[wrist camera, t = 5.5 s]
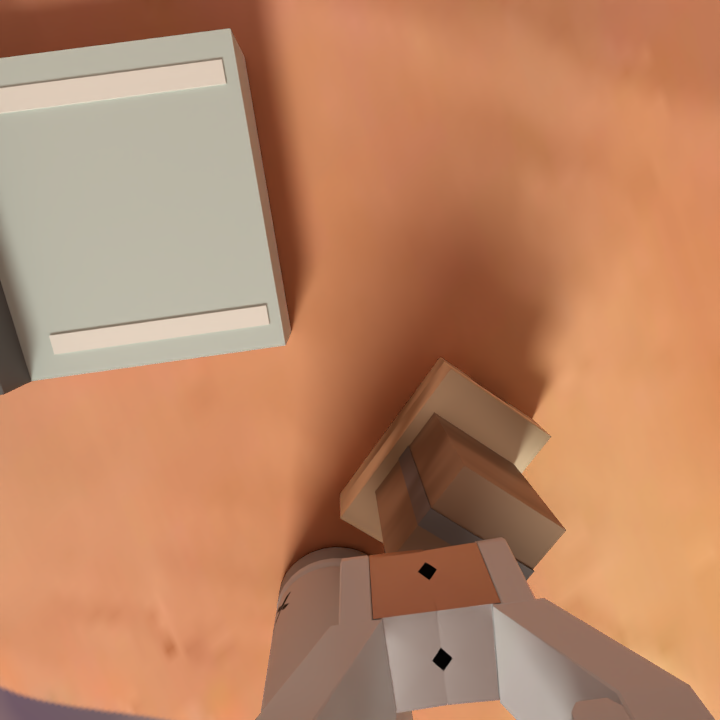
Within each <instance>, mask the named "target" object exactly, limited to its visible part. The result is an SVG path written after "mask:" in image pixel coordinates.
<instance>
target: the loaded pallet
mask: <svg viewBox="0 0 720 720" xmlns="http://www.w3.org/2000/svg"><path fill="white" fill-rule="evenodd" d="M550 438H551V436H550V435H549V434H548V433H547V432H546V431H545V430H544V429H542V428H541V427H540V426H539V425H538V424H537V423H536V422H535V421H534V420H533V419H531V418H530V417H528V416H527V415H526V414H524V413H523V412H521V411H520V410H518V409H517V408H515V407H514V406H512V405H511V404H509V403H508V402H506V401H505V402H504V401H502V400H501V399H499V398H498V397H496V396H495V395H493V394H492V393H490V392H489V391H487V390H486V389H485V388H483V387H482V386H480V385H479V384H477V383H476V382H474V381H473V380H472V379H471V378H470V377H469V376H468V375H467V374H465V373H464V372H462V371H461V370H459V369H458V368H456V367H455V366H453V365H452V364H450V363H449V362H447V361H446V360H445V359H443V358H442V357H440V358H439V359H438V361H437V362H436V363H435V365H434V366H433V367H432V369H431V370H430V372H429V373H428V374H427V376H426V377H425V378H424V380H423V381H422V382H421V384H420V385H419V387H418V388H417V389H416V391H415V392H414V393H413V395H412V396H411V397H410V399H409V400H408V402H407V403H406V404H405V406H404V407H403V408H402V410H401V411H400V412H399V414H398V415H397V417H396V418H395V419H394V421H393V422H392V423H391V425H390V426H389V427H388V429H387V430H386V432H385V433H384V434H383V436H382V437H381V438H380V440H379V441H378V443H377V444H376V445H375V447H374V448H373V449H372V451H371V452H370V453H369V455H368V456H367V458H366V459H365V460H364V462H363V463H362V464H361V466H360V467H359V468H358V470H357V471H356V473H355V474H354V475H353V477H352V478H351V479H350V481H349V482H348V483H347V485H346V486H345V488H344V489H343V490H342V492H341V493H340V518H341V519H342V520H344V521H346V522H347V523H349V524H351V525H353V526H354V527H356V528H358V529H359V530H361V531H363V532H365V533H366V534H368V535H370V536H372V537H373V538H375V539H377V540H378V541H380V542H382V543H383V544H384V550H385V553H392V552H402V551H411V550H420V549H422V550H425V549H432V548H439V547H446V546H453V545H460V544H467V543H475V541H481V540H487V539H493V538H499V537H502V538H504V539H505V540H506V542H507V544H508V546H509V548H510V550H511V552H512V554H513V556H514V557H515V559H516V561H517V563H518V565H519V567H520V569H521V571H522V573H523V575H524V577H525V579H526V580H527V579H528V578H529V577H530V576H531V574H532V573H533V572H534V570H533V569H534V567H535V566H536V565H537V564H538V563H539V561H540V560H541V559H542V558H543V557H544V556H545V554H546V553H547V552H548V551H549V550H550V549H551V547H552V546H553V545H554V544H555V543H556V542H557V540H558V539H559V538H560V537H561V536H562V534H563V533H564V532H565V531H566V530H565V528H564V527H563V526H562V524H561V523H560V522H559V521H558V519H557V518H556V517H555V516H554V514H553V513H552V512H551V511H550V509H549V508H548V507H547V505H546V504H545V503H544V502H543V500H542V499H541V498H540V497H539V495H538V494H537V493H536V491H535V490H534V489H533V488H532V486H531V485H530V484H529V483H528V481H527V480H526V479H525V478H524V476H523V475H522V474H521V473H522V472H523V471H524V470H525V468H526V467H527V466H528V465H529V463H530V462H531V461H532V460H533V459H534V457H535V456H536V455H537V454H538V452H539V451H540V450H541V449H542V447H543V446H544V445H545V444H546V442H547V441H548V440H549V439H550Z"/></svg>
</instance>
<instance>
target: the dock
mask: <svg viewBox="0 0 720 720" xmlns="http://www.w3.org/2000/svg"><path fill="white" fill-rule="evenodd" d="M290 334H291V327H290V321H289V315H288V309H287V303H286V297H285V291H284V285H283V280H282V274H281V268H280V262H279V256H278V250H277V244H276V238H275V233H274V227H273V221H272V215H271V209H270V203H269V197H268V191H267V186H266V180H265V174H264V168H263V162H262V156H261V150H260V144H259V138H258V133H257V127H256V121H255V115H254V109H253V103H252V97H251V91H250V86H249V80H248V74H247V68H246V62H245V57H244V55H243V53H242V51H241V49H240V47H239V45H238V43H237V41H236V39H235V37H234V35H233V33H232V31H231V29H230V28H229V29H221V30H213V31H205V32H198V33H190V34H182V35H175V36H167V37H159V38H151V39H144V40H136V41H128V42H121V43H113V44H105V45H97V46H90V47H82V48H74V49H67V50H59V51H51V52H43V53H36V54H28V55H20V56H13V57H5V58H0V395H2V394H5V393H8V392H10V391H12V390H14V389H16V388H18V387H20V386H22V385H24V384H26V383H29V382H31V381H36V380H43V379H50V378H57V377H64V376H71V375H78V374H85V373H93V372H100V371H107V370H114V369H121V368H128V367H135V366H142V365H149V364H156V363H164V362H171V361H178V360H185V359H192V358H199V357H206V356H213V355H220V354H228V353H235V352H242V351H249V350H256V349H263V348H270V347H277V346H284V345H286V343H287V341H288V339H289V337H290Z"/></svg>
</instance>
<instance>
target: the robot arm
mask: <svg viewBox="0 0 720 720" xmlns="http://www.w3.org/2000/svg"><path fill="white" fill-rule="evenodd" d="M494 700H500V703H501V704H502V705H503V706H504V707H505V708H506V709H507V710H508V711H509V712H510V713H511V714H512V715H513V716H514V717H515V719H516V720H715V719H714V718H713V716H712V715H711V714H710V712H709V711H708V710H707V708H706V707H705V706H704V704H703V703H702V701H701V700H700V699H699V697H698V696H697V695H696V693H695V692H694V691H693V689H692V688H691V687H690V685H688V684H686V683H685V682H683V681H681V680H680V679H678V678H676V677H675V676H673V675H671V674H670V673H668V672H666V671H665V670H663V669H661V668H660V667H658V666H657V665H655V664H653V663H652V662H650V661H648V660H647V659H645V658H643V657H642V656H640V655H638V654H637V653H635V652H633V651H632V650H630V649H628V648H627V647H625V646H623V645H622V644H620V643H618V642H617V641H615V640H613V639H612V638H610V637H608V636H607V635H605V634H603V633H602V632H600V631H598V630H597V629H595V628H593V627H592V626H590V625H588V624H587V623H585V622H583V621H582V620H580V619H578V618H577V617H575V616H573V615H572V614H570V613H568V612H567V611H565V610H563V609H562V608H560V607H558V606H557V605H555V604H553V603H552V602H550V601H548V600H547V599H545V598H541V599H536V598H535V596H534V595H533V593H532V591H531V589H530V587H529V585H528V583H527V581H526V579H525V577H524V575H523V573H522V571H521V569H520V567H519V565H518V563H517V561H516V559H515V557H514V556H513V554H512V552H511V550H510V548H509V546H508V544H507V542H506V540H505V539H504V538H502V537H499V538H493V539H487V540H481V541H475V543H467V544H460V545H453V546H446V547H439V548H432V549H425V550H422V549H420V550H411V551H402V552H392V553H383V554H374V555H369V556H367V555H366V556H358V557H350V558H342V560H341V563H340V589H339V625H333V626H330V627H329V628H328V629H327V631H326V632H325V633H324V634H323V636H322V637H321V638H320V639H319V641H318V642H317V643H316V644H315V646H314V647H313V648H312V649H311V651H310V652H309V653H308V654H307V656H306V657H305V658H304V659H303V661H302V662H301V663H300V664H299V666H298V667H297V668H296V669H295V671H294V672H293V673H292V674H291V676H290V677H289V678H288V679H287V681H286V682H285V683H284V684H283V686H282V687H281V688H280V689H279V691H278V692H277V693H276V694H275V696H274V697H273V698H272V699H271V701H270V702H269V703H268V704H267V706H266V707H265V708H264V709H263V710H262V712H261V713H260V714H259V715H258V717H257V718H256V719H255V720H395V719H396V717H397V716H396V713H400V712H406V711H412V710H419V709H425V708H431V707H437V706H443V705H447V704H448V705H452V704H462V703H473V702H483V701H494Z"/></svg>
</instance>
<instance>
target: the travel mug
mask: <svg viewBox="0 0 720 720" xmlns="http://www.w3.org/2000/svg"><path fill="white" fill-rule="evenodd" d="M366 555H367V554H365V553H362V552H360V551H357V550H355V549H350V548H344V547H331V548H325V549H320V550H317V551H314V552H311V553H310V554H308V555H306V556H304V557H302V558H301V559H300V560H298V561H297V562H296V563H295V564H294V565H293V566H292V567H291V568H290V569H289V570H288V572H287V573H286V575H285V577H284V579H283V581H282V583H281V587H280V591H279V598H278V604H277V612H276V617H275V624H274V630H273V636H272V643H271V649H270V656H269V662H268V669H267V675H266V682H265V688H264V695H263V701H262V708H261V712H262V710H263V709H264V708H265V707H266V706H267V704H268V703H269V702H270V701H271V699H272V698H273V697H274V696H275V694H276V693H277V692H278V691H279V689H280V688H281V687H282V686H283V684H284V683H285V682H286V681H287V679H288V678H289V677H290V676H291V674H292V673H293V672H294V671H295V669H296V668H297V667H298V666H299V664H300V663H301V662H302V661H303V659H304V658H305V657H306V656H307V654H308V653H309V652H310V651H311V649H312V648H313V647H314V646H315V644H316V643H317V642H318V641H319V639H320V638H321V637H322V636H323V634H324V633H325V632H326V631H327V629H328V628H329V627H330V626H333V625H339V589H340V563H341V560H342V558H350V557H358V556H366ZM367 556H368V555H367ZM396 716H397V717H396V719H395V720H413V716H412V711H406V712H400V713H396Z"/></svg>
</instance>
